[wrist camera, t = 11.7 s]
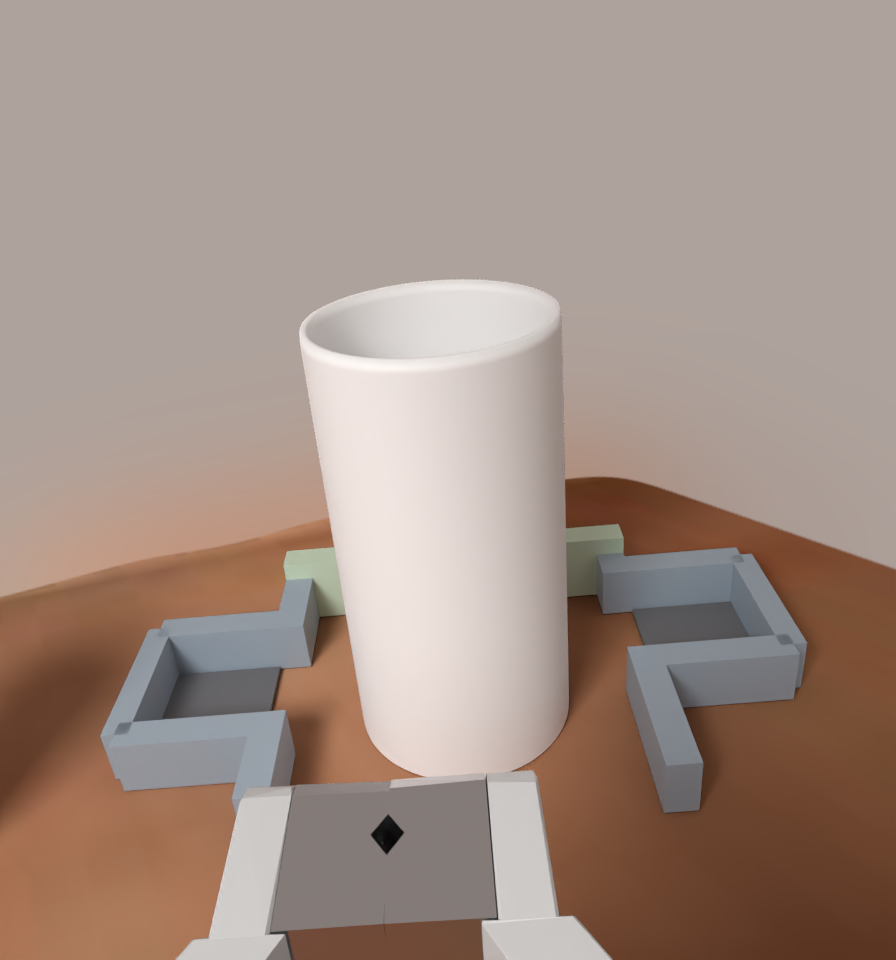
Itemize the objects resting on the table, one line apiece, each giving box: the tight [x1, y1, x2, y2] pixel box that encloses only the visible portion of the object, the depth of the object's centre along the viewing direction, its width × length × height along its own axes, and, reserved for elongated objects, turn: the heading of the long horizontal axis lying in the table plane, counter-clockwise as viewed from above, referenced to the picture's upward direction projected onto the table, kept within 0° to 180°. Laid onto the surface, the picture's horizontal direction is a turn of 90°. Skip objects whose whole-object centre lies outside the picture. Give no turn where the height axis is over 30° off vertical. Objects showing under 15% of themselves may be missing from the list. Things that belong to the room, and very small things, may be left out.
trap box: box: [100, 524, 807, 817], centre depth 34 cm, size 26×14×3 cm, turn 92°
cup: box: [299, 279, 569, 778], centre depth 30 cm, size 8×8×16 cm
